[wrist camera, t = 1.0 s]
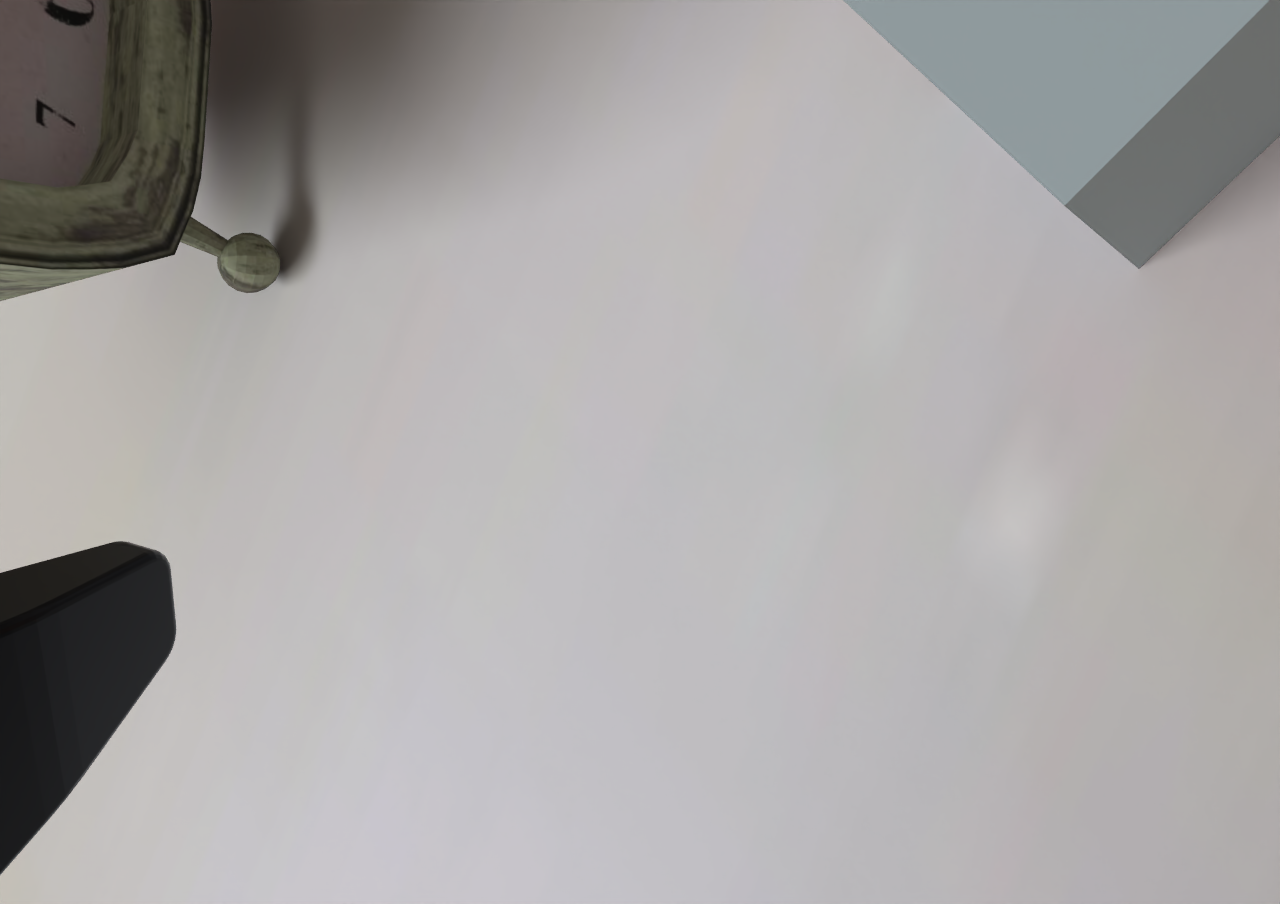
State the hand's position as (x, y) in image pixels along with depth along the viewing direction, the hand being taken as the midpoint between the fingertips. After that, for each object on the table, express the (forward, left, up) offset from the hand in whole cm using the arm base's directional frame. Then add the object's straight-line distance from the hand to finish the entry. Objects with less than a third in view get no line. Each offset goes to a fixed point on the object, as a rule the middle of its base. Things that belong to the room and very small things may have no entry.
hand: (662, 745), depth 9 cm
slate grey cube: (+7, -7, -14) cm, 17 cm away
